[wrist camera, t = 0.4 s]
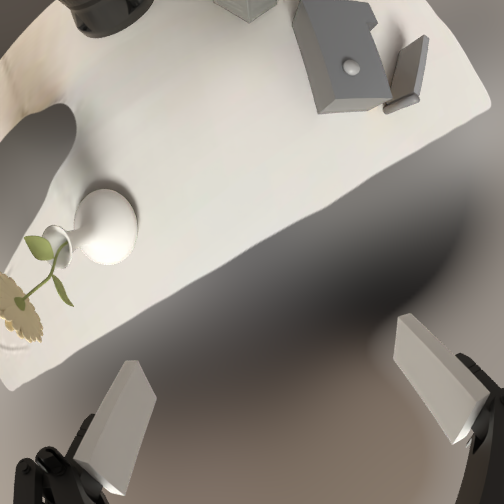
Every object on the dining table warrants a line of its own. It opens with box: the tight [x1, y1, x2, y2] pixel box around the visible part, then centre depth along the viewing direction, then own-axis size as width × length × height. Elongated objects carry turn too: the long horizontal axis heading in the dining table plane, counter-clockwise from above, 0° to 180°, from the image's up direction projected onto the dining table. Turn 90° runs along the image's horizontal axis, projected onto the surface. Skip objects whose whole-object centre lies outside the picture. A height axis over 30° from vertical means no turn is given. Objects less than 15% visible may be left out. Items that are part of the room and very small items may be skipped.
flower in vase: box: [0, 189, 138, 343], centre depth 25 cm, size 13×11×25 cm
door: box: [386, 35, 429, 105], centre depth 28 cm, size 12×2×8 cm, turn 159°
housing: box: [292, 0, 420, 114], centre depth 27 cm, size 18×12×9 cm, turn 11°
